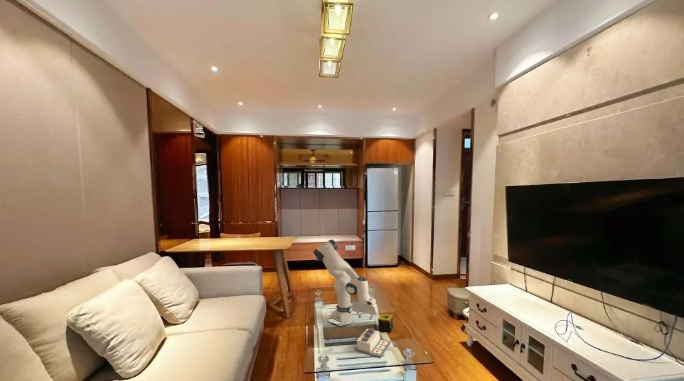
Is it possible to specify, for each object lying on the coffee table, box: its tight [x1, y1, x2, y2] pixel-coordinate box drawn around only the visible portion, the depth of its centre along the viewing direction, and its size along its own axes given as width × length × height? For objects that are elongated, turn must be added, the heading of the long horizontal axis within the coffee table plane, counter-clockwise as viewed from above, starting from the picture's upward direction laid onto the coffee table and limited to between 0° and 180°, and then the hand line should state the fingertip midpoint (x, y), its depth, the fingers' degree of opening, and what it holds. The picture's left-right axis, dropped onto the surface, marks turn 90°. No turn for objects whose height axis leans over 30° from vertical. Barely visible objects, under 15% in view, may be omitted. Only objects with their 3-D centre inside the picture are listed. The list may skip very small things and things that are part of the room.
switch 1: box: [367, 327, 376, 334], centre depth 188 cm, size 4×4×6 cm
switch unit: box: [353, 328, 392, 359], centre depth 182 cm, size 20×19×7 cm
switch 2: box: [365, 331, 372, 338], centre depth 184 cm, size 4×4×6 cm
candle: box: [377, 313, 394, 334], centre depth 204 cm, size 10×10×10 cm
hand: (365, 318), depth 191 cm, fingers open, 8 cm apart
